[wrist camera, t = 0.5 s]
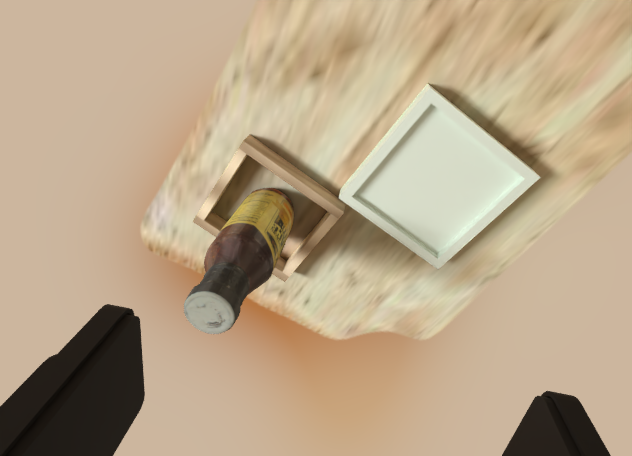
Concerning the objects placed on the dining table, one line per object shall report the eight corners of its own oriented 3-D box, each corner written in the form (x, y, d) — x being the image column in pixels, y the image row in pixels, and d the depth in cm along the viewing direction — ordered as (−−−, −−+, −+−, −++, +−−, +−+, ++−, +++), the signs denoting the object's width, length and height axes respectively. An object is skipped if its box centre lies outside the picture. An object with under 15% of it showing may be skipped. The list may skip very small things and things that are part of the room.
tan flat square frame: (250, 134, 44) (243, 140, 42) (345, 203, 46) (344, 212, 44) (200, 212, 49) (192, 221, 47) (288, 270, 52) (284, 281, 49)
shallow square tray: (427, 83, 39) (430, 87, 37) (532, 168, 41) (540, 177, 39) (340, 189, 45) (338, 198, 43) (435, 257, 48) (438, 269, 46)
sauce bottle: (290, 238, 49) (242, 361, 32) (241, 224, 49) (165, 339, 32) (302, 190, 46) (256, 298, 29) (249, 175, 46) (171, 274, 29)
